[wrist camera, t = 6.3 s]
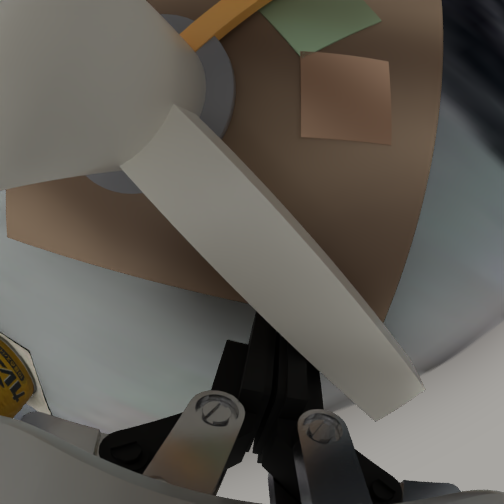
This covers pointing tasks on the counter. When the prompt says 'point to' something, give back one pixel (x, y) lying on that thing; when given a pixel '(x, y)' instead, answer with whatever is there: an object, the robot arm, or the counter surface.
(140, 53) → the white handled piece
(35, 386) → the condiment
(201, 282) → the brown square board
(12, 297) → the counter surface
